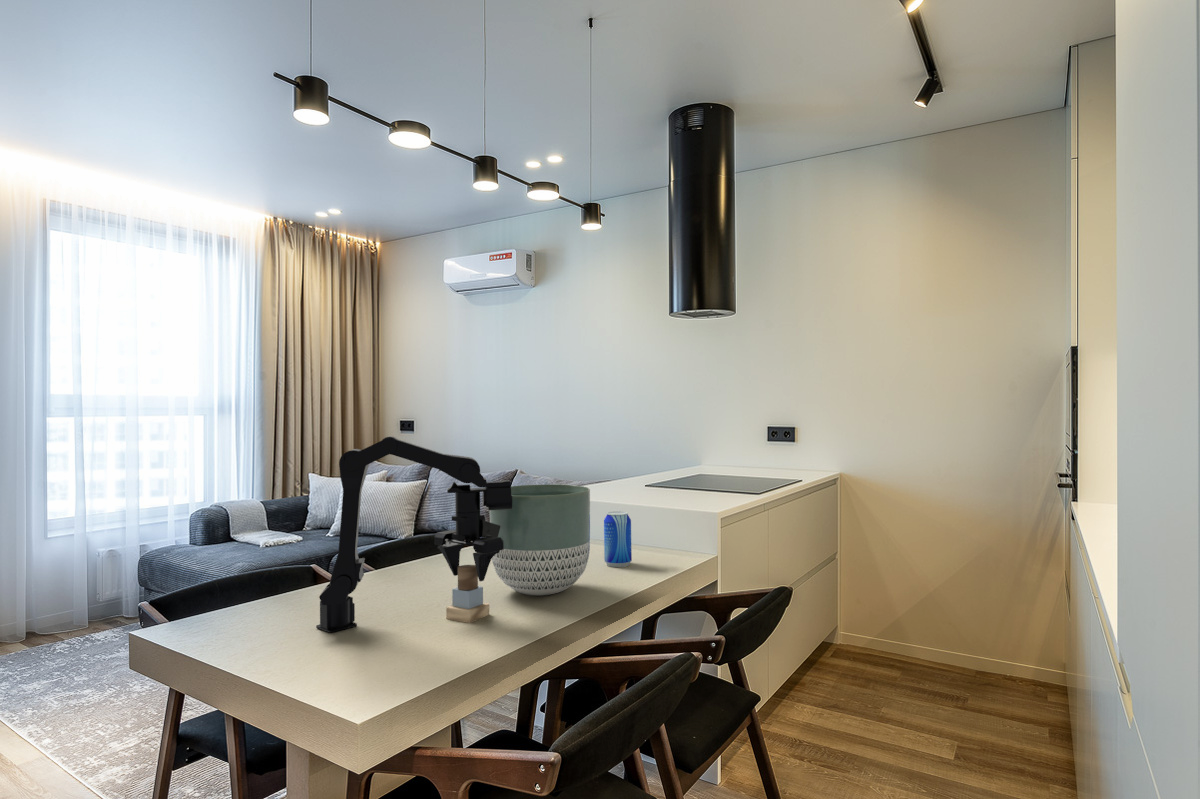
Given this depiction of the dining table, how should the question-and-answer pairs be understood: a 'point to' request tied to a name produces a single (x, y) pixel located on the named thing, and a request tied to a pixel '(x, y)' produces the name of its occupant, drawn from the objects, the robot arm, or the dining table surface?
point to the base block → (467, 613)
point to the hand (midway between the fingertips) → (468, 578)
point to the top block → (467, 597)
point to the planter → (543, 538)
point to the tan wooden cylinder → (467, 577)
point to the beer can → (617, 539)
